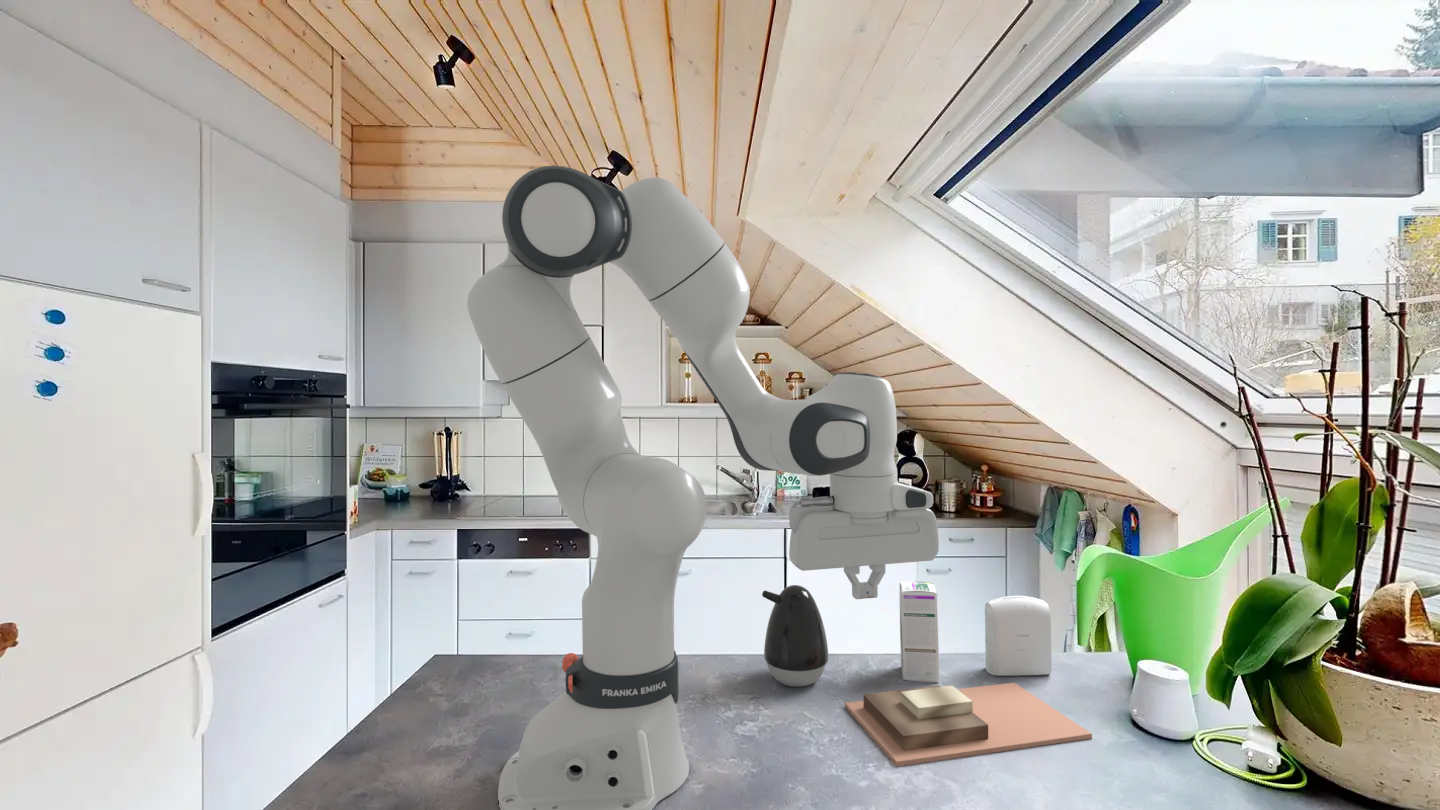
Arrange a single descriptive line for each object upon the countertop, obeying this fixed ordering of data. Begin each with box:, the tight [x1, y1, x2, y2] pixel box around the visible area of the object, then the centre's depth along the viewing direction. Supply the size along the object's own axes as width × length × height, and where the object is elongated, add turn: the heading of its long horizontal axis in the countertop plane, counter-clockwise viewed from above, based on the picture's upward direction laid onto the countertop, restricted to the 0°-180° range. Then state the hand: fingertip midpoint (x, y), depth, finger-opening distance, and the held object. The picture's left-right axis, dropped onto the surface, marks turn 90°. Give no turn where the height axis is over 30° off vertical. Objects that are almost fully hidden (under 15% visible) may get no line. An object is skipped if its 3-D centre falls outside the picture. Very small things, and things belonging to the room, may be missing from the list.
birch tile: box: [901, 685, 973, 719], centre depth 92 cm, size 8×5×2 cm, turn 102°
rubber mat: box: [844, 682, 1093, 767], centre depth 93 cm, size 28×16×1 cm, turn 102°
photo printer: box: [984, 595, 1052, 677], centre depth 109 cm, size 10×4×12 cm, turn 89°
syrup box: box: [899, 580, 940, 683], centre depth 109 cm, size 6×6×14 cm
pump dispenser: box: [761, 584, 829, 688], centre depth 107 cm, size 10×10×15 cm
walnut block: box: [863, 685, 988, 751], centre depth 92 cm, size 12×12×2 cm
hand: (864, 597), depth 90 cm, fingers closed
